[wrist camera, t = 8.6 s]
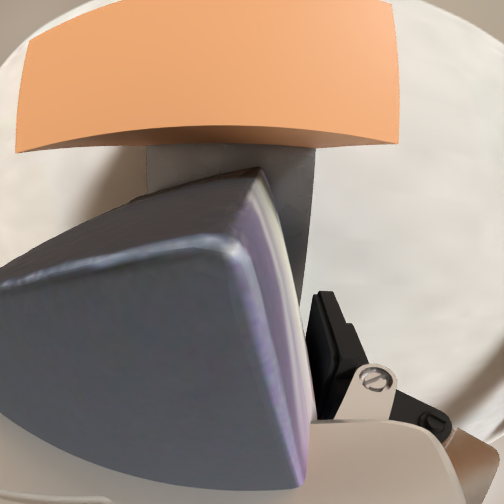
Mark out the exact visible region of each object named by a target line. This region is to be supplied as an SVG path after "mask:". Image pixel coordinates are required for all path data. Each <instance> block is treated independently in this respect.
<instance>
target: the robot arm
mask: <svg viewBox="0 0 504 504" xmlns="http://www.w3.org/2000/svg"><path fill="white" fill-rule="evenodd" d="M305 341H306V346H307V352H308V358H309V364H310V371H311V377H312V384H313V391H314V397H315V405H316V412H317V420H312V421H311V422H310V429H309V446H308V460H307V471H306V478H305V481H304V483H303V484H302V485H301V486H300V487H297V488H294V489H286V490H269V491H229V490H213V489H202V488H193V487H185V486H178V485H171V484H166V483H161V482H156V481H152V480H147V479H143V478H139V477H135V476H131V475H128V474H124V473H121V472H117V471H114V470H111V469H108V468H105V467H102V466H99V465H96V464H93V463H91V462H88V461H86V460H83V459H81V458H78V457H76V456H74V455H71V454H69V453H67V452H65V451H62V450H60V449H58V448H56V447H55V446H53V445H51V444H49V443H47V442H45V441H43V440H42V439H40V438H38V437H36V436H35V435H33V434H31V433H29V432H28V431H26V430H25V429H23V428H21V427H20V426H18V425H17V424H15V423H14V422H12V421H11V420H9V419H8V418H7V417H5V416H4V415H3V414H1V413H0V504H482V502H483V500H484V498H485V495H486V494H487V492H488V489H489V487H490V485H491V483H492V480H493V478H494V476H495V473H496V471H497V468H498V466H499V461H500V458H499V454H498V452H497V450H496V449H494V448H493V447H492V446H490V445H488V444H486V443H485V442H483V441H481V440H479V439H477V438H475V437H474V436H472V435H470V434H468V433H467V432H465V431H463V430H461V429H460V428H457V429H456V430H454V429H452V424H451V421H450V419H449V417H448V416H447V415H446V414H445V413H443V412H442V411H440V410H438V409H436V408H434V407H432V406H429V405H427V404H425V403H423V402H421V401H419V400H417V399H415V398H413V397H411V396H409V395H407V394H405V393H403V392H401V391H399V390H397V389H396V388H397V378H396V376H395V374H394V373H393V372H392V371H391V370H390V369H388V368H387V367H385V366H382V365H378V364H369V362H368V360H367V357H366V355H365V352H364V350H363V347H362V345H361V343H360V340H359V338H358V335H357V333H356V331H355V328H354V326H353V325H352V324H351V323H346V321H345V319H344V317H343V314H342V312H341V309H340V307H339V304H338V302H337V300H336V297H335V295H334V293H333V291H319V292H318V294H314V295H313V298H312V304H311V310H310V316H309V321H308V327H307V333H306V338H305Z"/></svg>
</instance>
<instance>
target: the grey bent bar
mask: <svg viewBox="0 0 504 504" xmlns="http://www.w3.org/2000/svg"><path fill="white" fill-rule="evenodd" d="M315 151H316V148H308V147H296V146H284V145H268V144H245V143H184V144H161V145H147V194H150V193H153V192H156V191H160V190H163V189H167V188H170V187H174V186H177V185H181V184H184V183H188V182H192V181H196V180H200V179H203V178H207V177H211V176H215V175H220V174H223V173H228V172H233V171H238V170H242V169H248V168H252V167H258V166H259V167H261V168H262V169H263V170H264V172H265V175H266V178H267V180H268V183H269V186H270V189H271V192H272V195H273V198H274V202H275V205H276V209H277V212H278V216H279V220H280V224H281V227H282V231H283V235H284V240H285V244H286V248H287V253H288V257H289V261H290V266H291V270H292V275H293V280H294V285H295V289H296V293H297V299H298V304H299V307H300V300H301V293H302V285H303V278H304V270H305V262H306V253H307V244H308V235H309V225H310V215H311V204H312V193H313V180H314V167H315Z"/></svg>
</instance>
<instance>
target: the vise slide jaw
mask: <svg viewBox="0 0 504 504" xmlns="http://www.w3.org/2000/svg"><path fill="white" fill-rule="evenodd" d="M399 106H400V101H399V67H398V52H397V41H396V32H395V24H394V17H393V10H392V4H389V3H386V2H383V1H380V0H122V1H119V2H116V3H112V4H109V5H106V6H104V7H101V8H98V9H95V10H93V11H90V12H87V13H85V14H82V15H80V16H78V17H75V18H73V19H71V20H68V21H66V22H64V23H62V24H60V25H58V26H56V27H54V28H52V29H50V30H48V31H46V32H44V33H42V34H40V35H38V36H37V37H35V38H33V39H31V40H30V41H29V44H28V49H27V53H26V57H25V62H24V67H23V72H22V78H21V84H20V91H19V99H18V109H17V121H16V145H15V153H22V152H30V151H38V150H48V149H59V148H72V147H89V146H146V145H161V144H184V143H245V144H268V145H284V146H296V147H308V148H327V147H340V146H356V145H378V144H398V141H399Z"/></svg>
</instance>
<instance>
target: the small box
mask: <svg viewBox="0 0 504 504" xmlns="http://www.w3.org/2000/svg"><path fill="white" fill-rule="evenodd" d="M0 413H1V414H3V415H4V416H5V417H7V418H8V419H9V420H11V421H12V422H14V423H15V424H17V425H18V426H20V427H21V428H23V429H25V430H26V431H28V432H29V433H31V434H33V435H35V436H36V437H38V438H40V439H42V440H43V441H45V442H47V443H49V444H51V445H53V446H55V447H56V448H58V449H60V450H62V451H65V452H67V453H69V454H71V455H74V456H76V457H78V458H81V459H83V460H86V461H88V462H91V463H93V464H96V465H99V466H102V467H105V468H108V469H111V470H114V471H117V472H121V473H124V474H128V475H131V476H135V477H139V478H143V479H147V480H152V481H156V482H161V483H166V484H171V485H178V486H185V487H193V488H202V489H213V490H229V491H269V490H286V489H294V488H297V487H300V486H301V485H302V484H303V483H304V481H305V478H306V471H307V460H308V446H309V429H310V422H311V421H312V420H317V412H316V405H315V397H314V391H313V384H312V377H311V371H310V364H309V358H308V352H307V346H306V341H305V335H304V330H303V325H302V320H301V315H300V310H299V304H298V299H297V293H296V289H295V285H294V280H293V275H292V270H291V266H290V261H289V257H288V253H287V248H286V244H285V240H284V235H283V231H282V227H281V224H280V220H279V216H278V212H277V209H276V205H275V202H274V198H273V195H272V192H271V189H270V186H269V183H268V180H267V178H266V175H265V172H264V170H263V169H262V168H261V167H259V166H258V167H252V168H248V169H242V170H238V171H233V172H228V173H223V174H220V175H215V176H211V177H207V178H203V179H200V180H196V181H192V182H188V183H184V184H181V185H177V186H174V187H170V188H167V189H163V190H160V191H156V192H153V193H150V194H147V195H144V196H140V197H137V198H135V199H133V200H131V201H130V202H129V203H128V204H125V205H122V206H121V207H118V208H115V209H113V210H111V211H108V212H106V213H104V214H102V215H100V216H98V217H95V218H93V219H91V220H89V221H86V222H85V223H82V224H80V225H78V226H76V227H74V228H72V229H70V230H68V231H66V232H64V233H62V234H60V235H58V236H56V237H54V238H52V239H50V240H48V241H46V242H44V243H42V244H40V245H39V246H37V247H35V248H33V249H31V250H30V251H29V252H27V253H25V254H23V255H22V256H19V257H18V258H16V259H14V260H12V261H11V262H9V263H8V264H6V265H4V266H3V267H1V268H0Z"/></svg>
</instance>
